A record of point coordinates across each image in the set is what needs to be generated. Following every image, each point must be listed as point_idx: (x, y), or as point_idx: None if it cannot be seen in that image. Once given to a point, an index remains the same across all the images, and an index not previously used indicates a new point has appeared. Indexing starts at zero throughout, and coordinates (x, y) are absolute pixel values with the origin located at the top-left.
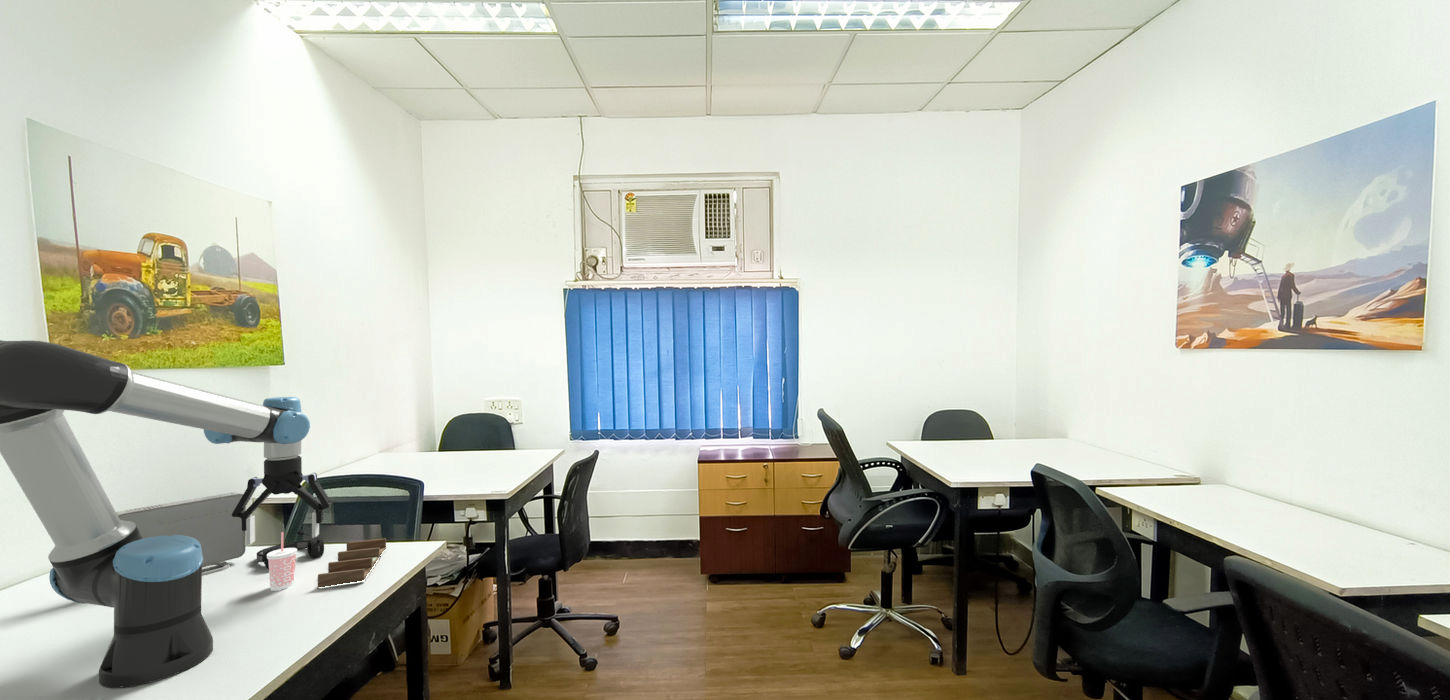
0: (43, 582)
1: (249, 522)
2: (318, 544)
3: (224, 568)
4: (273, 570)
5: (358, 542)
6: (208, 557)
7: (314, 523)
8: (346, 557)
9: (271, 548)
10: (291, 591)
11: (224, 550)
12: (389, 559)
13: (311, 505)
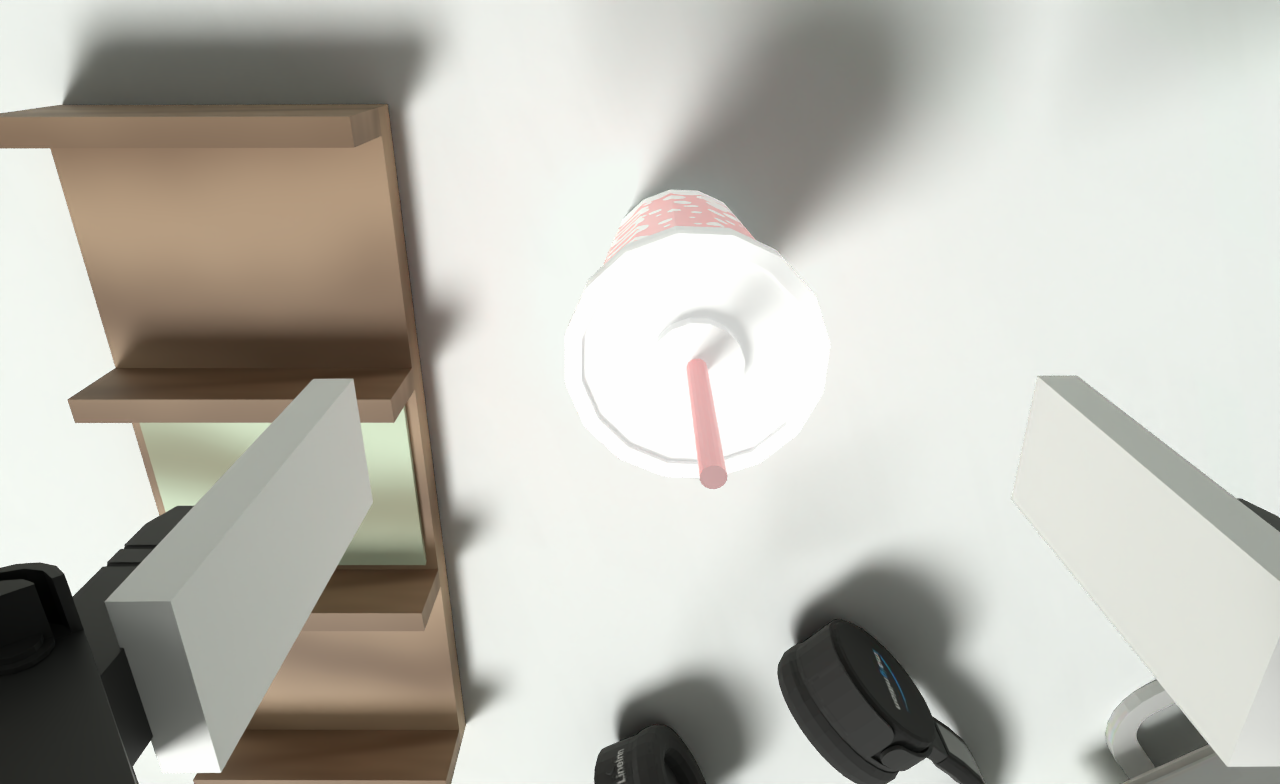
0: None
1: (1247, 545)
2: None
3: (1128, 706)
4: (728, 224)
5: (371, 777)
6: (1270, 775)
7: (235, 474)
8: (377, 584)
9: None
10: (575, 130)
11: None
12: (119, 547)
13: (81, 743)
